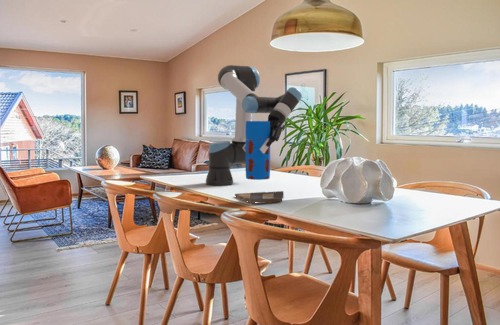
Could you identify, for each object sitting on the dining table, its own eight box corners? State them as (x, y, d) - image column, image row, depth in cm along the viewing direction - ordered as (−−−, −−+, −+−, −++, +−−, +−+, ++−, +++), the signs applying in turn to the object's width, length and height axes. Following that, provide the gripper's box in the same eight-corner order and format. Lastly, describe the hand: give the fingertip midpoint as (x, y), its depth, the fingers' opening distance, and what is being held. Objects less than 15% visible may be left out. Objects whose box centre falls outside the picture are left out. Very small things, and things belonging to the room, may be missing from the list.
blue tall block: (260, 180, 186) (260, 121, 184) (240, 178, 192) (240, 121, 190) (274, 177, 195) (275, 121, 192) (255, 176, 201) (255, 121, 199)
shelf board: (235, 196, 201) (235, 187, 201) (264, 194, 207) (264, 185, 207) (251, 204, 184) (251, 193, 183) (283, 201, 190) (283, 191, 189)
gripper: (301, 121, 192) (275, 158, 184) (266, 121, 210) (240, 155, 201) (293, 108, 188) (266, 146, 180) (257, 109, 206) (231, 143, 198)
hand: (252, 150), depth 191 cm, fingers closed on blue tall block, 11 cm apart
